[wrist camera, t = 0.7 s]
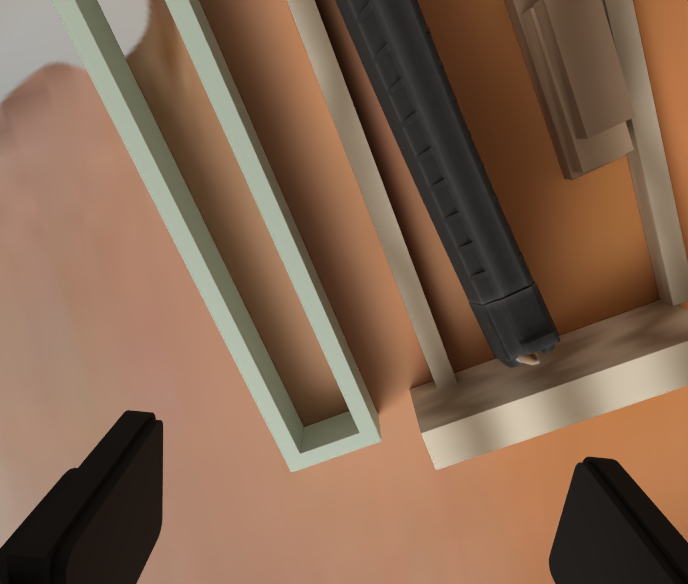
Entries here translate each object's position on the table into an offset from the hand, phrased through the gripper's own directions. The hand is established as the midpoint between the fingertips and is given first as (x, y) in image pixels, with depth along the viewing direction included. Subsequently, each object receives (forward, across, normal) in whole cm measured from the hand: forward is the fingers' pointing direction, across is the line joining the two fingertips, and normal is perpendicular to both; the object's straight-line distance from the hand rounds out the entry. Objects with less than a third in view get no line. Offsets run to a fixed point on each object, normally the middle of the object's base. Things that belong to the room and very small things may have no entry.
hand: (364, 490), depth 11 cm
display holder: (+25, +8, -2) cm, 26 cm away
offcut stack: (+25, -12, -13) cm, 31 cm away
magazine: (+25, -4, -8) cm, 27 cm away
